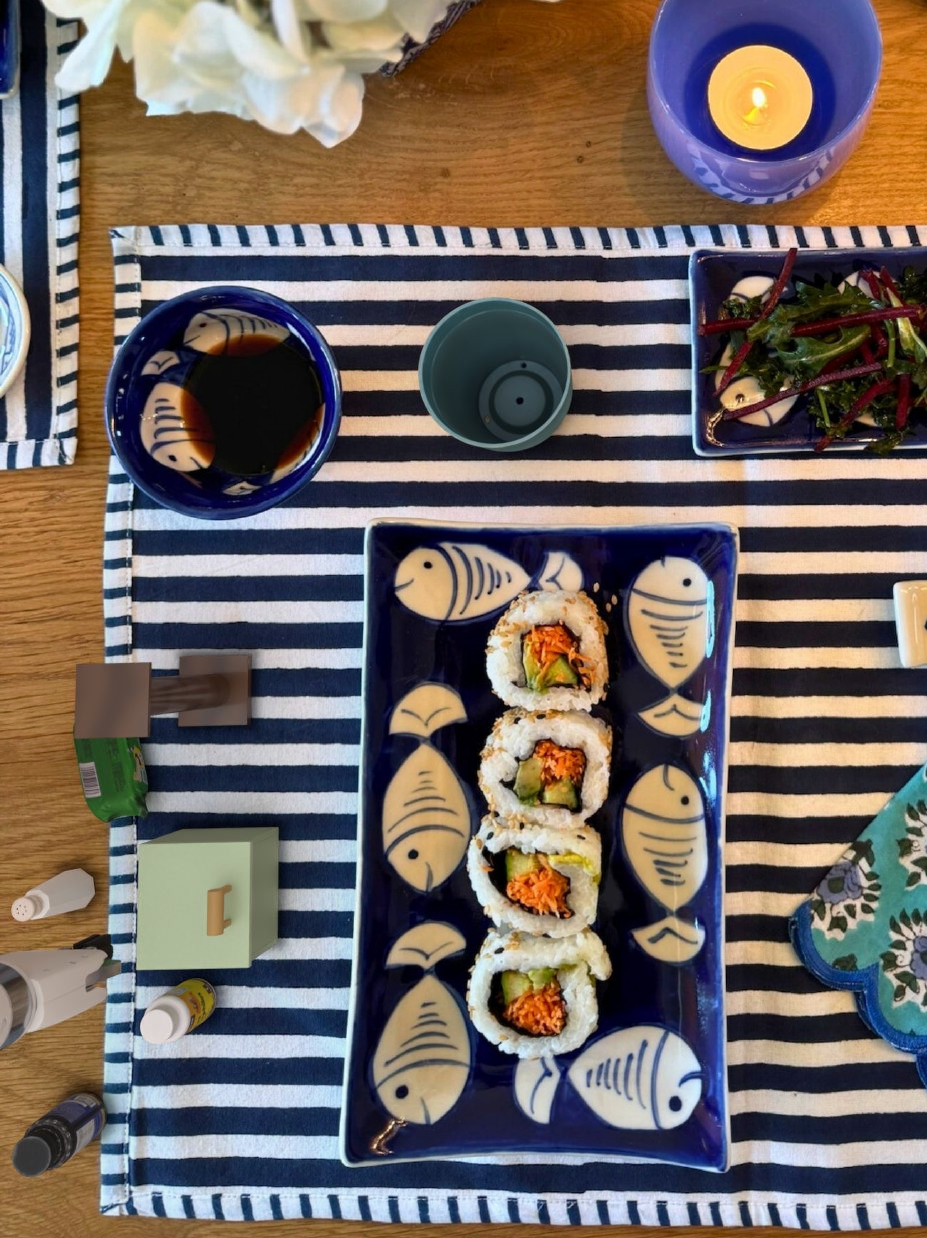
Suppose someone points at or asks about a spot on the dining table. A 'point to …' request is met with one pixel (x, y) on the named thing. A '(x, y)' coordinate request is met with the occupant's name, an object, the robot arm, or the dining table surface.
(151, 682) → the stand
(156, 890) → the lid
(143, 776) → the snack package
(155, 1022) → the supplement bottle
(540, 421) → the flower pot
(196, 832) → the chest
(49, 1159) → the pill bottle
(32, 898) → the salt shaker
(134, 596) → the dining table surface
